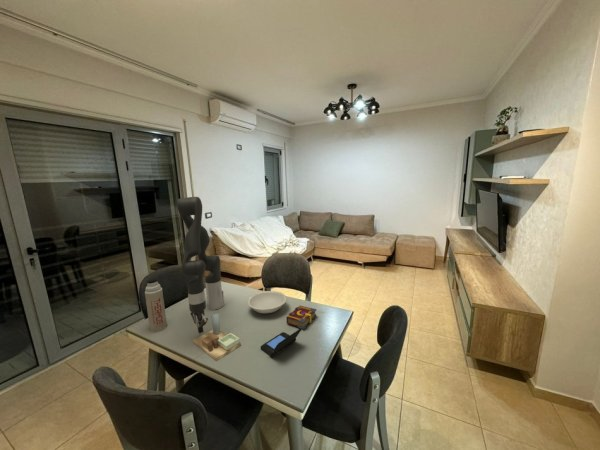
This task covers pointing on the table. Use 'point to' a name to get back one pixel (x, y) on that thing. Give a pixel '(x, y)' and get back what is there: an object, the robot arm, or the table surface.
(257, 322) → the table surface
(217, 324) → the dowel
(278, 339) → the game console
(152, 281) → the thermos bottle
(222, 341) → the tray
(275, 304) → the soup bowl
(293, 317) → the decorative book
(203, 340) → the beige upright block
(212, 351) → the board
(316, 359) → the table surface
